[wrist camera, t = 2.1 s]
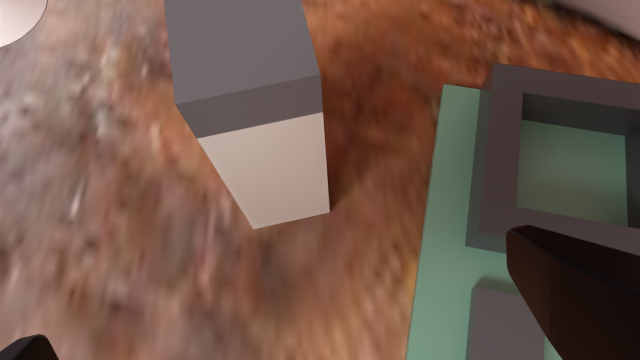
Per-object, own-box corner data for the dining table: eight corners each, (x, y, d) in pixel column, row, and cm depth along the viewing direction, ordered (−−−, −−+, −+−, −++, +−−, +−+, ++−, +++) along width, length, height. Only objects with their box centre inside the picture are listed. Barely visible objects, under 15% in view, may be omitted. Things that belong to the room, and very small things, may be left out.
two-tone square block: (329, 212, 24) (320, 74, 12) (253, 229, 23) (175, 104, 12) (313, 144, 25) (292, -32, 14) (241, 160, 25) (163, -7, 14)
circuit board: (720, 495, 18) (788, 518, 16) (396, 417, 20) (405, 425, 17) (686, 127, 25) (730, 97, 22) (441, 89, 26) (453, 56, 23)
